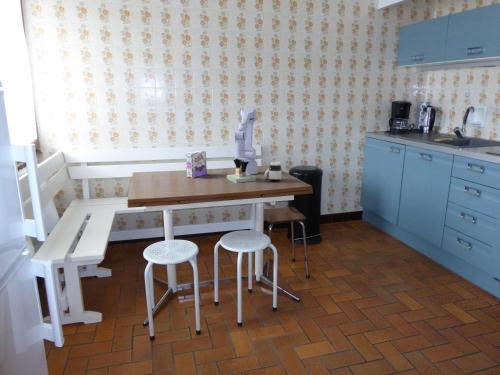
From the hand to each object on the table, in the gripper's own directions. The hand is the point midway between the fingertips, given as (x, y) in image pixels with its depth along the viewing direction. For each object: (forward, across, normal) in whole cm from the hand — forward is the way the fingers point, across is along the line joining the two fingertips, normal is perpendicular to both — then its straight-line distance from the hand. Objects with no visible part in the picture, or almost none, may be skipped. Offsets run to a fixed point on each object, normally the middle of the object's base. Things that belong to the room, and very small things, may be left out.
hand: (241, 171), depth 247 cm
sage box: (+6, 0, 0) cm, 6 cm away
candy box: (+6, -25, -21) cm, 33 cm away
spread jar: (+6, +11, +17) cm, 21 cm away
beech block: (+3, 0, 0) cm, 3 cm away
